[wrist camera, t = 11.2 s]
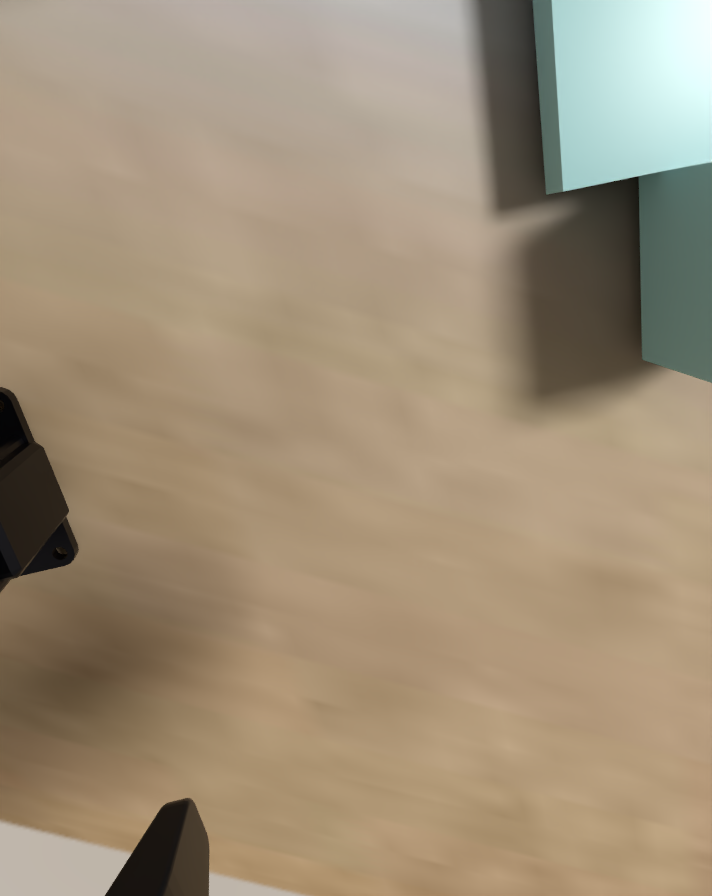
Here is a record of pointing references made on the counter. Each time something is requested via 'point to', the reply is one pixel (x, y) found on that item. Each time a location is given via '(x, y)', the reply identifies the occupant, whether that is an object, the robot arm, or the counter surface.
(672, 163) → the lid
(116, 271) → the counter surface
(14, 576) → the robot arm
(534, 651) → the counter surface
